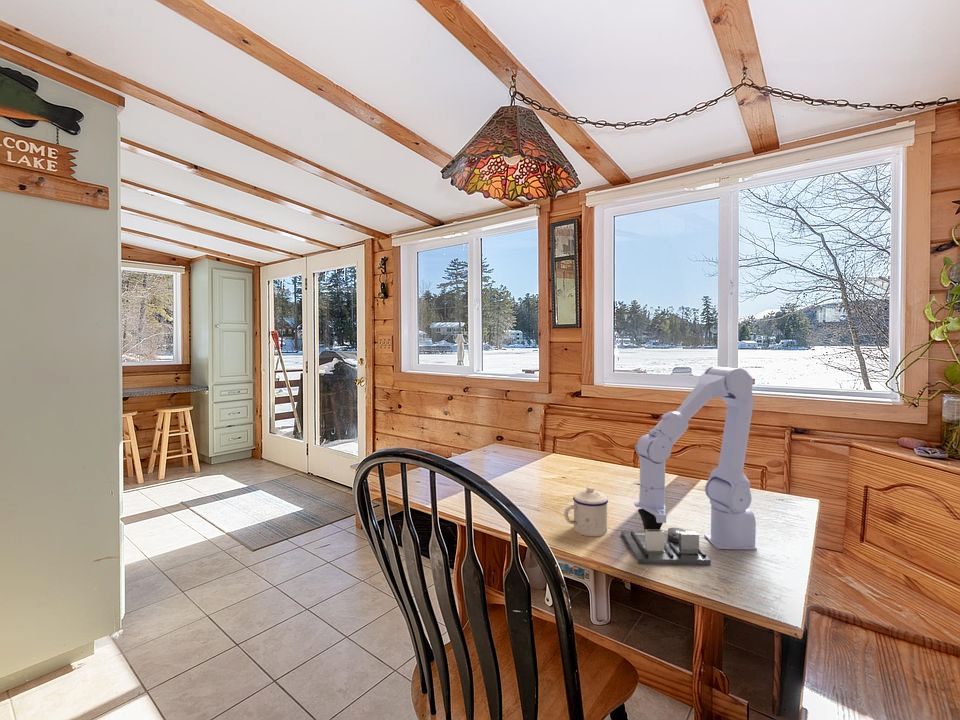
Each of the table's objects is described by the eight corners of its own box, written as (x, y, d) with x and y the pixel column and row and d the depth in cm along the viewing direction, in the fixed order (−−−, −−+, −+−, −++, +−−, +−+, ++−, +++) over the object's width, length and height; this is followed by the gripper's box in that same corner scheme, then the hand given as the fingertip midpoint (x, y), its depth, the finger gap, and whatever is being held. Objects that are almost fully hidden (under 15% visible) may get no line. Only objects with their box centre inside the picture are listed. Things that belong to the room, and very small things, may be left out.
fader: (662, 548, 113) (662, 529, 112) (664, 550, 111) (664, 531, 111) (645, 547, 113) (645, 528, 113) (647, 550, 111) (647, 531, 111)
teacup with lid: (596, 522, 132) (597, 481, 132) (614, 535, 123) (614, 491, 123) (557, 526, 129) (557, 484, 128) (572, 540, 120) (572, 495, 120)
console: (683, 535, 123) (684, 513, 123) (710, 565, 107) (710, 539, 107) (621, 534, 124) (621, 512, 123) (638, 564, 108) (638, 538, 108)
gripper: (627, 476, 121) (626, 528, 122) (644, 495, 107) (643, 554, 107) (655, 476, 121) (654, 528, 121) (676, 495, 106) (675, 554, 107)
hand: (651, 540), depth 114 cm, fingers closed
